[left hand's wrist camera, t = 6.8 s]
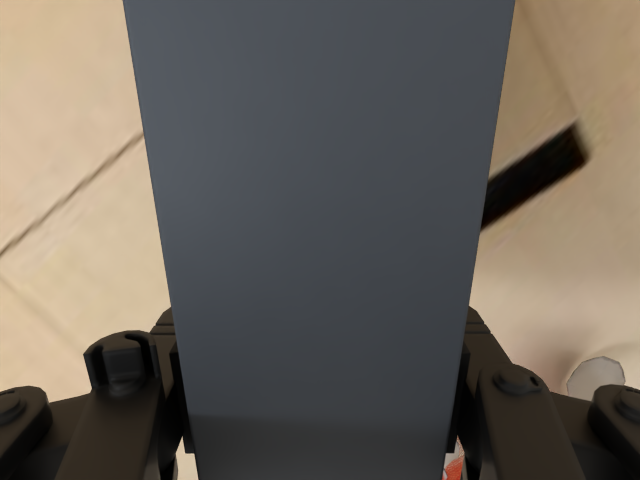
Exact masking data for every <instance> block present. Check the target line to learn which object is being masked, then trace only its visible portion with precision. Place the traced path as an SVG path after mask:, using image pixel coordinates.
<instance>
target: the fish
mask: <svg viewBox="0 0 640 480" xmlns="http://www.w3.org/2000/svg"><path fill="white" fill-rule="evenodd" d="M624 383H625V377H624V372H623V369H622V367H621V365H620V363H619V362H618V361H615V360H612V359H610V358H607V357H604V356H602V357H597V358H593V359H590V360H587V361H584V362H582V363H581V364H580V365H579V366H578V367H577V369H576V370H575V371H574V372H573V374H572V375H571V377H570V379H569V380H568V382H567V390H568V396H570V397H574V398H579V399H583V400H588V401H591V400H592V397H593V394H594V391H595V390H596V389H597V388H598V387H600V386H602V385H608V384H615V385H624ZM459 450H460V449H459V444H458V442H457V441H456V446H455V452H454V453H446V457H445V464H444V471H443V477H442V480H460V476H461V470H462V465H463V459H464V456H462V457H459ZM458 457H459V458H458Z"/></svg>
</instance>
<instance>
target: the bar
mask: <svg viewBox="0 0 640 480" xmlns="http://www.w3.org/2000/svg"><path fill="white" fill-rule="evenodd" d="M123 5H124V12H125V18H126V24H127V31H128V37H129V43H130V49H131V56H132V62H133V68H134V75H135V81H136V87H137V94H138V100H139V106H140V113H141V119H142V125H143V132H144V138H145V144H146V151H147V157H148V163H149V170H150V176H151V182H152V189H153V195H154V201H155V207H156V214H157V220H158V226H159V233H160V239H161V245H162V252H163V258H164V264H165V271H166V277H167V283H168V290H169V296H170V302H171V309H172V315H173V321H174V328H175V334H176V340H177V347H178V353H179V359H180V365H181V372H182V378H183V384H184V391H185V397H186V403H187V410H188V416H189V422H190V429H191V435H192V441H193V448H194V454H195V460H196V467H197V473H198V479H199V480H442V477H443V471H444V464H445V457H446V451H447V444H448V438H449V431H450V425H451V418H452V412H453V405H454V398H455V392H456V385H457V379H458V372H459V366H460V359H461V353H462V346H463V339H464V333H465V326H466V320H467V313H468V307H469V300H470V294H471V287H472V280H473V274H474V267H475V261H476V254H477V248H478V241H479V235H480V228H481V221H482V215H483V208H484V202H485V195H486V189H487V182H488V176H489V169H490V162H491V156H492V149H493V143H494V136H495V130H496V123H497V116H498V110H499V103H500V97H501V90H502V84H503V77H504V71H505V64H506V57H507V51H508V44H509V38H510V31H511V25H512V18H513V12H514V5H515V0H123Z"/></svg>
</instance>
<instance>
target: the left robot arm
mask: <svg viewBox="0 0 640 480" xmlns="http://www.w3.org/2000/svg"><path fill="white" fill-rule="evenodd" d="M490 332H491V331H490V330H489V328H488V327H487V326H486V324H484V321H483V320H482V318H481V317H480V315H479V314H478V312H477V311H476V310H474V309H473V308H471V307H470V306H469V307H468V313H467V320H466V326H465V333H464V339H463V346H462V353H461V359H460V366H459V372H458V379H457V385H456V392H455V398H454V405H453V412H452V418H451V425H450V431H449V438H448V444H447V451H446V453H454V452H455V446H456V440H457V434H458V437H459V439H460V442H461V445H462V447H463V450H464V452H465V453H464V459H463V465H462V470H461V476H460V480H640V390H638V389H634V388H632V387H628V386H624V385H615V384H608V385H602V386H600V387H598V388H597V389H596V390H595V391H594V394H593V397H592V400H591V401H588V400H583V399H579V398H574V397H570V396H565V395H561V394H557V393H554V392H550V391H549V389H548V387H547V386H546V384H545V383H544V381H543V380H542V379H541V378H540V377H538V376H537V375H536V374H535V373H533V372H532V371H530V370H528V369H526V368H524V367H522V366H519V365H515V364H513V363H512V362H511V361H510V359H509V358H508V356H507V355H506V353H505V352H504V350H503V349H502V347H501V346H500V345H499V343H498V342H497V340H496V339H495V337H494V336H493V334H491V333H490ZM83 356H84V359H85V363H86V367H87V371H88V375H89V379H90V383H91V386H92V390H91V392H90V393H89V394H85V395H82V396H78V397H73V398H69V399H64V400H60V401H55V402H51V403H49V401H48V398H47V395H46V393H45V392H44V391H43V390H42V389H41V388H39V387H33V386H23V387H15V388H12V389H8V390H5V391H2V392H0V480H177V477H178V466H177V459H176V451H177V448H178V446H179V443H180V441H181V438H182V436H183V442H184V448H185V453H194V448H193V441H192V435H191V429H190V422H189V416H188V410H187V403H186V397H185V391H184V384H183V378H182V372H181V365H180V359H179V353H178V347H177V340H176V334H175V328H174V321H173V315H172V309H171V307H170V308H169V309H167V310H166V311H165V312H163V314H162V315H161V316H160V318H159V319H158V321H157V322H156V326H154V327H153V328H152V330H151V331H150V333H148V332H144V331H140V330H133V331H123V332H118V333H114V334H111V335H109V336H106V337H104V338H102V339H100V340H98V341H97V342H95V343H94V344H92V345H91V346H90V347H89V348H88V349H87V350H86V351H85V353H84V354H83Z"/></svg>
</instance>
